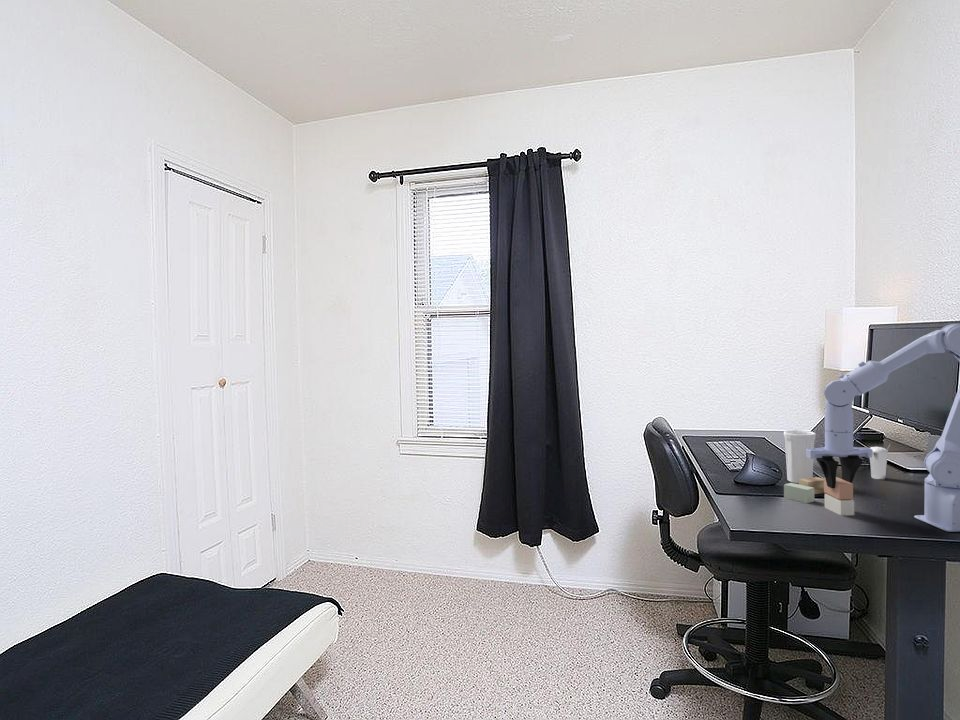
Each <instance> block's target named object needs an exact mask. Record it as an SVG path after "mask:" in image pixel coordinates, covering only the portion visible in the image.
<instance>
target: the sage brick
mask: <svg viewBox="0 0 960 720" xmlns="http://www.w3.org/2000/svg"><path fill="white" fill-rule="evenodd" d="M783 498H785V499H787V500H792V501H795V502H801V503H804V504H809V503H813V502H815V494H814V487H809V486H804V485H799V483H794V482H788V483H785V484H783Z"/></svg>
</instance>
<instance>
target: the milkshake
mask: <svg viewBox="0 0 960 720" xmlns="http://www.w3.org/2000/svg"><path fill="white" fill-rule="evenodd" d="M890 447H891V443H889V445H888V446H887V447H886V448H884V447H882V446H870V447H869V448H870V449H872V457H869V463H870V464H869V465H870V476H871V479H874V480H886V473H887V472H886V471H887V463H888V455H889V453H888V452H889V448H890Z"/></svg>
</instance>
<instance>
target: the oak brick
mask: <svg viewBox="0 0 960 720" xmlns="http://www.w3.org/2000/svg"><path fill="white" fill-rule="evenodd" d="M798 484H799V485H804V486H809V487H814V495H819V494H820V495H821V494H826V493H825V492H824V478H822V477H819V476H815V477H814V476H813V478H803V479H799V483H798Z"/></svg>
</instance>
